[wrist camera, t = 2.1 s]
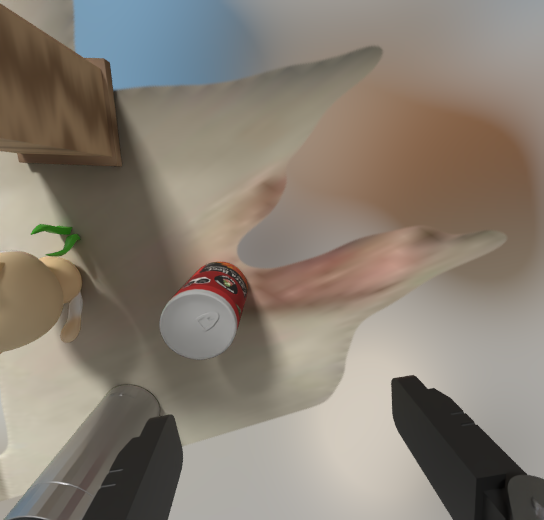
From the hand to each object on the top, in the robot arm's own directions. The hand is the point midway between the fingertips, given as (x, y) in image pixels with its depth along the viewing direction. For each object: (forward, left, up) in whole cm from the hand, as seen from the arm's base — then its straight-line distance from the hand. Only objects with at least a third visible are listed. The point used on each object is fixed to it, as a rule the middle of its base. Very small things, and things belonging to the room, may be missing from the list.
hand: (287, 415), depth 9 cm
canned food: (-6, +8, -27) cm, 28 cm away
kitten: (-5, +30, -27) cm, 40 cm away
